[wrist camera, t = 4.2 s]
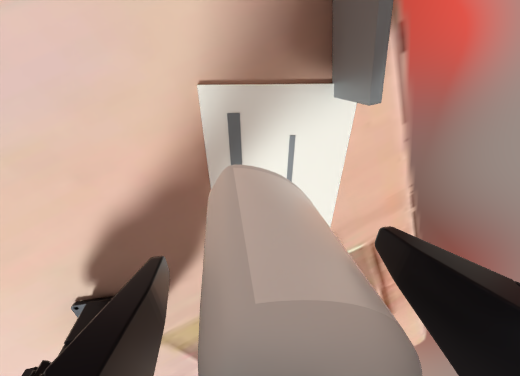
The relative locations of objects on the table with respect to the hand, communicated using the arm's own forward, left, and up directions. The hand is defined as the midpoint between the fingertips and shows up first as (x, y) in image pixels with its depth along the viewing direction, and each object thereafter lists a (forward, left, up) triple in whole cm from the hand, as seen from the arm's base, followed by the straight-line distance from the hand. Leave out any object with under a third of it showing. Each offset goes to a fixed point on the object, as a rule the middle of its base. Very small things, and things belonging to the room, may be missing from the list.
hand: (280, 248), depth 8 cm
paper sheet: (-4, -3, -12) cm, 13 cm away
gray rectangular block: (+8, -7, -12) cm, 16 cm away
